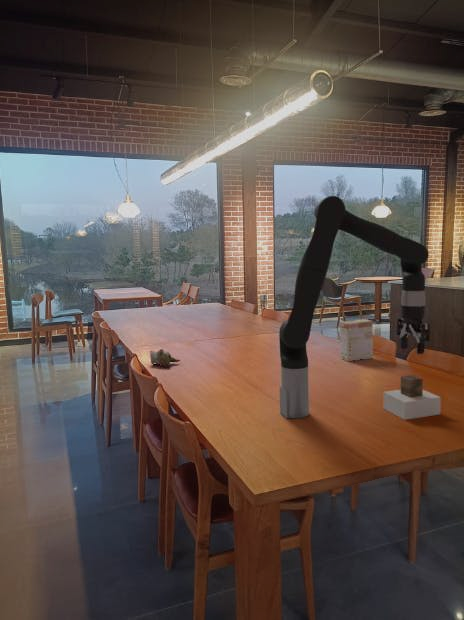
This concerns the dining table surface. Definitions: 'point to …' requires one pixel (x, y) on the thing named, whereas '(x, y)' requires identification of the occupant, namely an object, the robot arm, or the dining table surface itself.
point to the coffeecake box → (356, 339)
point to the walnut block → (411, 386)
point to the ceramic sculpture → (162, 358)
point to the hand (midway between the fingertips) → (412, 351)
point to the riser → (411, 404)
